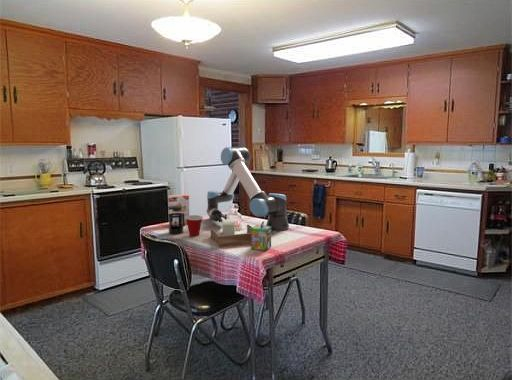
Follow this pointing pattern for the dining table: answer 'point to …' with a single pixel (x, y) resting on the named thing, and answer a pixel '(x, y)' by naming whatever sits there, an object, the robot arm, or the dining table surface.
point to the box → (232, 238)
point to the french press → (175, 229)
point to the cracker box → (180, 201)
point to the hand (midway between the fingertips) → (224, 221)
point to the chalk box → (261, 237)
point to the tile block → (228, 227)
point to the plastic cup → (194, 224)
